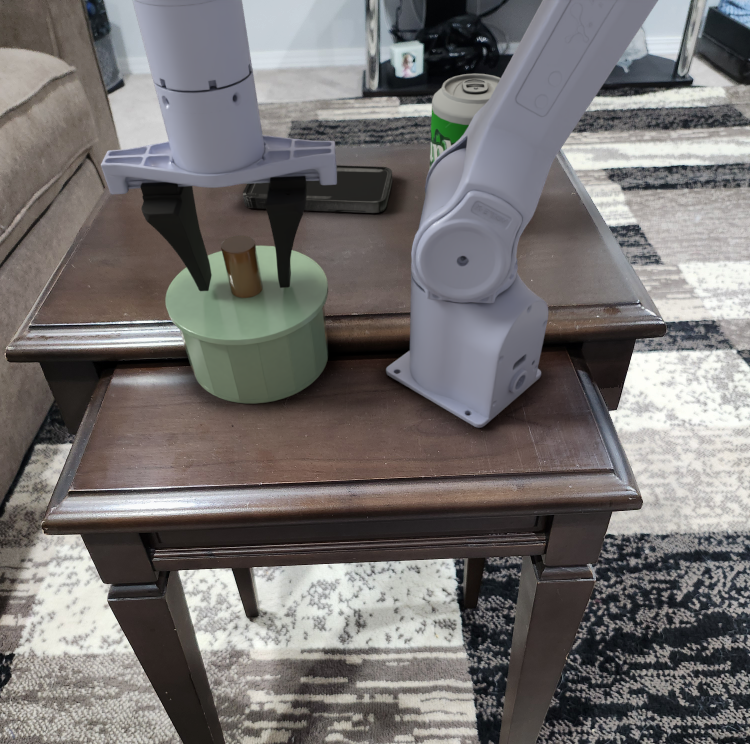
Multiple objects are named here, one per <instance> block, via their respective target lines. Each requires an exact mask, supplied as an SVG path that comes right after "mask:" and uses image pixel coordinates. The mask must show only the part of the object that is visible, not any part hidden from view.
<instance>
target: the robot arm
mask: <svg viewBox="0 0 750 744" xmlns="http://www.w3.org/2000/svg"><path fill="white" fill-rule="evenodd" d="M131 1H132V5H133V9H134V12H135V17H136V21H137V25H138V28H139V33H140V36H141V39H142V43H143V47H144V52H145V55H146V59H147V63H148V66H149V70H150V71H149V72H150V74H151V77H152V78H151V79H152V82H153V85H154V90H155V93H156V97H157V102H158V105H159V109H160V113H161V117H162V120H163V124H164V125H163V126H164V129H165V132H166V137H167V141H161V142H158V143H152V144H147V145H142V146H136V147H130V148H123V149H112V150H110V149H109V150H107V151H106V153H105V155H104V157H103V159H102V161H101V163H100V167H101V170H102V172H103V176H104V179H105V182H106V185H107V187H108V190H109V194H110V195H126V194H127V193H129V191H130V190H134V189H135V190H136V189H140V190H141V194H142V200H143V203H142V205H141V207H140V209H141V213H142V215H143V217H144V219H145V221H146V222H147V223H148V224H149V225H150V226H151V227H152V228H154V229H155V230H156V231H157V232H158V233H159V234H160V236H161V237H163V239H164V240H165V241H166V242H167V243H168V244H169V246H171V248H172V249H173V250H174V252H176V254H177V256H178V257H179V258H180V260H181V262H182V263H183V264H184V266H185V268H186V267H187V269H188V271H189V272H190V274H191V276H192V278H193V279H194V281H195V283H196V285H197V287H198V289H199V291H208V290H209V286H210V281H211V276H212V274H211V268H210V263H209V259H208V255H209V254H208V251H207V249H206V245H205V241H204V239H203V235H202V232H201V229H200V228H201V227H200V223H199V217H198V213H197V206H196V201H195V195H194V188H193V187H198V188H209V189H213V188H216V189H217V188H224V187H225V188H227V187H232V186H238V185H247V184H252V183H269V189H268V193H267V200H266V209H265V210H266V214H267V217H268V220H269V225H270V229H271V233H272V238H273V239H272V240H273V243H274V246H275V249H276V259H277V272H278V280H279V285H280V288H287V287H290V279H291V264H290V258H291V252H292V250H293V247H294V244H295V243H294V242H295V238H296V235H297V232H298V230H299V229H298V228H299V226H300V223H301V221H302V218H303V216H304V212H305V210H304V209H305V205H306V196H307V181H320V184H321V185H336V184H337V165H338V164H337V152H336V141H335V140H313V139H312V140H311V139H303V138H302V139H301V138H293V137H285V136H284V137H283V136H275V135H268V134H263V128H262V122H261V115H260V109H259V102H258V96H257V95H258V94H257V89H256V88H257V87H256V82H255V74H254V68H253V63H252V58H251V57H252V56H251V51H250V50H251V49H250V44H249V38H248V30H247V24H246V18H245V10H244V4H243V0H131ZM658 1H659V0H541V3H540V4H539V6H538V8H537V10H536V11H535V14H534V15H533V17H532V19H531V21H530V23H529V24H528V27H527V28H526V30H525V32H524V34H523V35H522V38H521V39H520V42H519V43H518V45H517V47H516V49H515V50H514V53H513V55H512V57H511V58H510V61H509V62H508V63H507V66H506V67H505V69H504V72H503V73H502V75H501V77H500V78H501V79H500V81H499V83H498V84H497V86H496V88H495V90H494V92H493V94H492V96H491V97H490V99H489V100H488V102H487V103H486V104H485V105H484V106H483V107H482V108H481V109H480V110H479V111H478V112H477V113H476V114H475V115H474V117H473V119H472V121H471V122H470V124H469V126H468V128H467V130H466V131H465V133H464V134H463V135H462V137H461V138H460V139H459V140H458V141H457V142H456V143H455V144H453V145H452V146H450V147H449V148H447V149H446V150H445V151H443V152H442V153H441V154H440V155H439V156H438V157H437V158H436V160H435V161H434V162H433V164H432V166H431V168H430V167H429V170H428V172H427V176H426V178H425V184H424V193H425V196H424V200H423V204H422V205H423V206H422V210H421V215H420V220H419V225H418V230H417V231H416V232H415V235H414V238H413V242H412V245H411V262H410V311H409V312H410V314H409V319H410V320H409V350H408V351H407V352H405V353H404V354H402V355H401V356H400V357H398V358H397V359H396V360H395V361H393V362H392V363H390V364H389V365H388V366H386V368H385V373H386V375H387V376H389V377H390V378H392V379H393V380H395V381H397V382H399V383H400V384H401V385H404V386H405V387H406V388H409V389H410V390H412V391H414V392H415V393H417V394H419V395H420V396H421V397H424V398H425V399H427V400H429V401H430V402H432V403H434V404H436V405H437V406H439V407H440V408H442V409H444V410H445V411H448V412H449V413H450V414H453V415H454V416H456V417H457V418H459V419H461V420H462V421H464V422H466V423H467V424H469V425H471V426H473V427H475V428H478V429H480V428H484V427H485V426H486V425H487V424H489V423H490V422H491V421H492V420H493V419H494V418H496V417H497V415H499V414H500V413H501V412H502V411H504V410H505V408H508V406H509V405H510V404H512V403H513V402H514V401H515V400H517V399H518V397H520V396H521V395H522V394H523V393H524V392H525V391H527V390H528V389H529V388H530V387H531V386H532V385H533V384H534V383H536V382H537V381H538V380H539V379H541V376H542V370H541V369H539V364H540V360H541V355H542V350H543V345H544V341H545V340H544V339H545V335H546V332H547V331H546V330H547V325H548V320H549V306H548V303H547V301H546V300H545V299H544V298H542V297H541V296H539V295H538V294H536V293H535V292H534V291H533V290H532V289H530V288H529V287H528V286H527V284H526V283H525V282H524V281H523V280H522V278H521V276H520V274H519V273H518V268H519V267H518V266H519V265H518V258H517V254H518V253H517V252H518V244H519V241H520V238H521V236H522V234H523V233H524V231H525V229H526V227H527V226H528V224H529V223H530V221H531V220H532V219H533V216H534V215H535V213H536V210H537V207H538V205H539V202H540V199H541V196H542V194H543V190H544V187H545V185H546V181H547V179H548V176H549V174H550V171H551V168H552V165H553V162H554V161H555V158H556V157H557V156H558V154H559V152H560V151H561V149H562V148H563V146H564V144H566V142H567V141H568V139H569V137H570V136H571V134H572V132H573V131H574V130H575V128H576V126H577V125H578V124H579V122H580V120H581V119H582V117H583V116H584V114H585V113H586V111H587V110H588V109H589V106H590V105H591V104H592V102H594V99H595V97H596V96H597V95H598V93H599V92H600V90H601V89H602V87H603V86H604V84H605V82H606V81H607V80H608V78H609V77H610V75H611V73H612V72H613V70H614V69H615V67H616V65H617V64H618V62H619V61H620V60H621V58H622V57H623V55H624V54H625V52H626V50H627V49H628V47H629V46H630V44H631V43H632V42H633V39H634V38H635V36H636V35H637V34H638V32H639V30H640V29H641V28H642V26H643V24H645V22H646V20H647V18H648V17H649V15H650V14H651V12H652V11H653V9H654V8H655V6H656V4H657V3H658Z"/></svg>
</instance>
